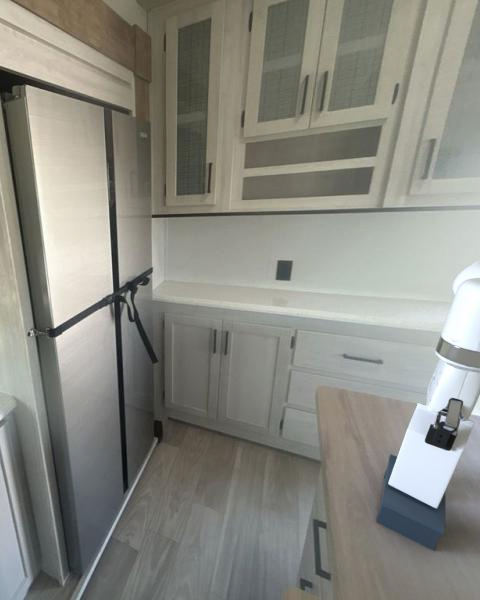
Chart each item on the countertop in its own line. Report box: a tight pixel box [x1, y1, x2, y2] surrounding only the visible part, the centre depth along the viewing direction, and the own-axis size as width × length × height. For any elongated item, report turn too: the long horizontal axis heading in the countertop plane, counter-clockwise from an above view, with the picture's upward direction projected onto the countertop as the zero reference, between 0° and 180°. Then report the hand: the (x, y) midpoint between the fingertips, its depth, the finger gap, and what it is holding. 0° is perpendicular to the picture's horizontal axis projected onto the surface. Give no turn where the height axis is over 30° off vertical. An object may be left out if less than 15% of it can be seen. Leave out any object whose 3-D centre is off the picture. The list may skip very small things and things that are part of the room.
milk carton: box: [388, 402, 475, 508], centre depth 63 cm, size 7×7×19 cm
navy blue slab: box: [376, 453, 446, 551], centre depth 68 cm, size 15×9×6 cm, turn 135°
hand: (437, 431), depth 61 cm, fingers closed on milk carton, 7 cm apart
